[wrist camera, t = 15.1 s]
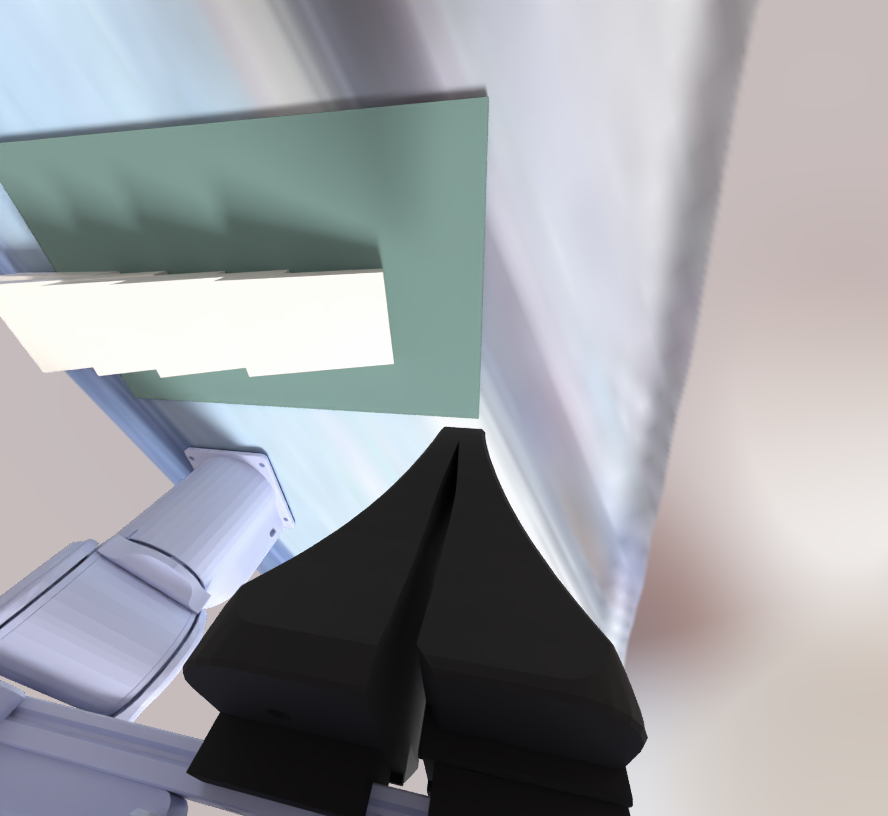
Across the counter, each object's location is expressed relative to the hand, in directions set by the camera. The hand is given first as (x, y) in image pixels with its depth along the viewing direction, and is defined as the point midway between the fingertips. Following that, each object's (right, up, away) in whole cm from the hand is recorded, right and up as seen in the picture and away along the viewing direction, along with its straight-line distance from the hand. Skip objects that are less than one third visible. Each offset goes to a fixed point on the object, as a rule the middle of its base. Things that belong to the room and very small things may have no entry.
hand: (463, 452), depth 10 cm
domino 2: (-14, +7, +9) cm, 18 cm away
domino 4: (-4, +7, +7) cm, 11 cm away
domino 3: (-9, +7, +8) cm, 14 cm away
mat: (-12, +9, +9) cm, 18 cm away
